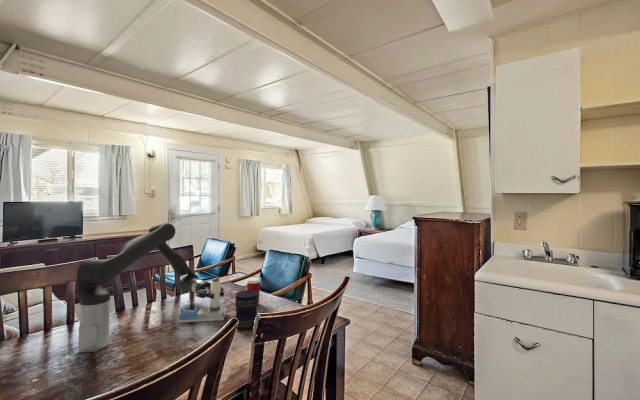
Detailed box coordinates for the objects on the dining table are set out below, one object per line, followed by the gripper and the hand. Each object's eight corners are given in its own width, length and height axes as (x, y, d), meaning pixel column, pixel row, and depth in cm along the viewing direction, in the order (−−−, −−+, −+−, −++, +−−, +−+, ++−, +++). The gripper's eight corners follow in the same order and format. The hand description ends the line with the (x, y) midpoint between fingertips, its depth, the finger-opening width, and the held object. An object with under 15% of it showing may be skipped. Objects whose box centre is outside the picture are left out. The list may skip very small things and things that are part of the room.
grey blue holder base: (223, 319, 141) (223, 306, 141) (178, 322, 137) (178, 309, 137) (225, 313, 149) (225, 301, 149) (183, 315, 145) (183, 303, 145)
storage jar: (251, 332, 128) (252, 297, 128) (230, 330, 130) (231, 296, 130) (260, 323, 138) (261, 291, 138) (241, 321, 140) (241, 289, 140)
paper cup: (262, 302, 165) (262, 277, 165) (257, 307, 158) (258, 281, 158) (248, 302, 166) (248, 276, 166) (243, 306, 158) (244, 280, 158)
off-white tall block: (219, 313, 142) (220, 279, 142) (208, 314, 141) (209, 280, 141) (220, 309, 146) (221, 277, 146) (210, 310, 145) (211, 277, 146)
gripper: (188, 283, 148) (203, 290, 137) (215, 278, 159) (231, 284, 147) (187, 298, 148) (203, 307, 136) (214, 292, 159) (231, 300, 147)
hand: (218, 295), depth 142 cm, fingers closed on off-white tall block, 4 cm apart
